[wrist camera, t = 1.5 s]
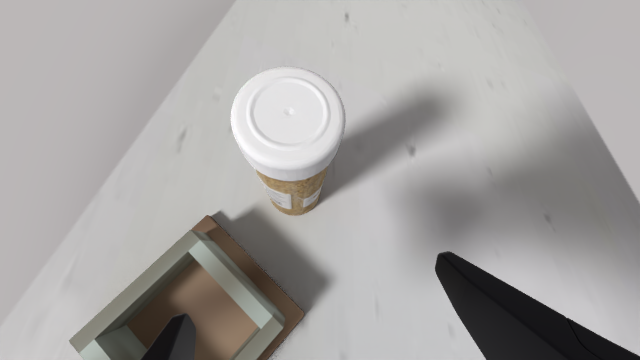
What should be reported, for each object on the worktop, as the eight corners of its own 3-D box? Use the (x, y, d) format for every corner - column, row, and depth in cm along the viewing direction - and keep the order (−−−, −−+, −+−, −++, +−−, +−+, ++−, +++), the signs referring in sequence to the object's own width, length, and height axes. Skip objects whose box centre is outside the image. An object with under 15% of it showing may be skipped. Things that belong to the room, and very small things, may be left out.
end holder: (304, 312, 20) (305, 326, 16) (191, 444, 17) (163, 496, 14) (210, 216, 21) (192, 209, 18) (92, 324, 19) (42, 342, 15)
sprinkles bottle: (326, 206, 22) (365, 147, 10) (277, 223, 22) (245, 184, 9) (310, 160, 24) (324, 50, 11) (262, 174, 23) (214, 76, 10)
